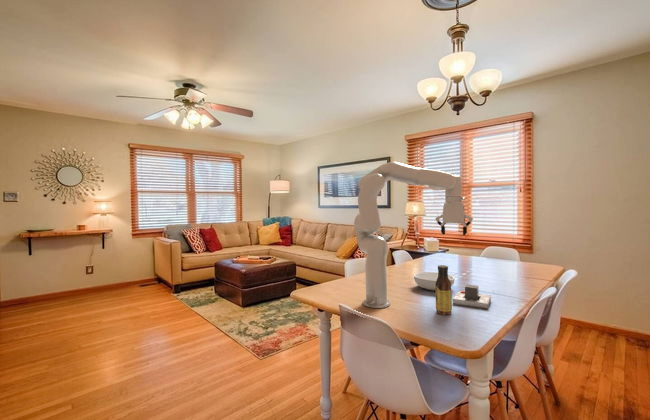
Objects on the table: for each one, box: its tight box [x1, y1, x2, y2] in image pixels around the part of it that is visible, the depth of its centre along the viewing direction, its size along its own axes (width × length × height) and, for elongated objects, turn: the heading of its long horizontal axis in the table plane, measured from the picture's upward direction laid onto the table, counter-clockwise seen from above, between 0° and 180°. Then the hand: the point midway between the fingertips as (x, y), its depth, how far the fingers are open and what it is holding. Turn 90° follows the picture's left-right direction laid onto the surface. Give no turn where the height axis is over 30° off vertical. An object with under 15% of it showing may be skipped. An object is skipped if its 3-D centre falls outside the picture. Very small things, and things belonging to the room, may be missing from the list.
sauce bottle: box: [434, 264, 453, 316], centre depth 128 cm, size 6×6×20 cm
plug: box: [464, 284, 480, 300], centre depth 141 cm, size 5×5×7 cm
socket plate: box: [452, 290, 492, 310], centre depth 141 cm, size 14×14×3 cm
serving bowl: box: [413, 271, 456, 291], centre depth 166 cm, size 21×21×7 cm
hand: (453, 234), depth 153 cm, fingers open, 9 cm apart
